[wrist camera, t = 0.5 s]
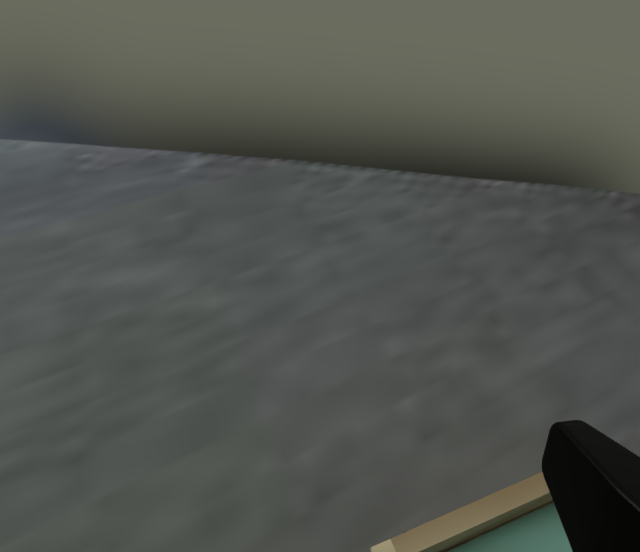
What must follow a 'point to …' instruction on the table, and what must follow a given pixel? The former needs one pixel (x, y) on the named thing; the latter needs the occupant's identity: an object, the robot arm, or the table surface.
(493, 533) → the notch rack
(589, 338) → the table surface
